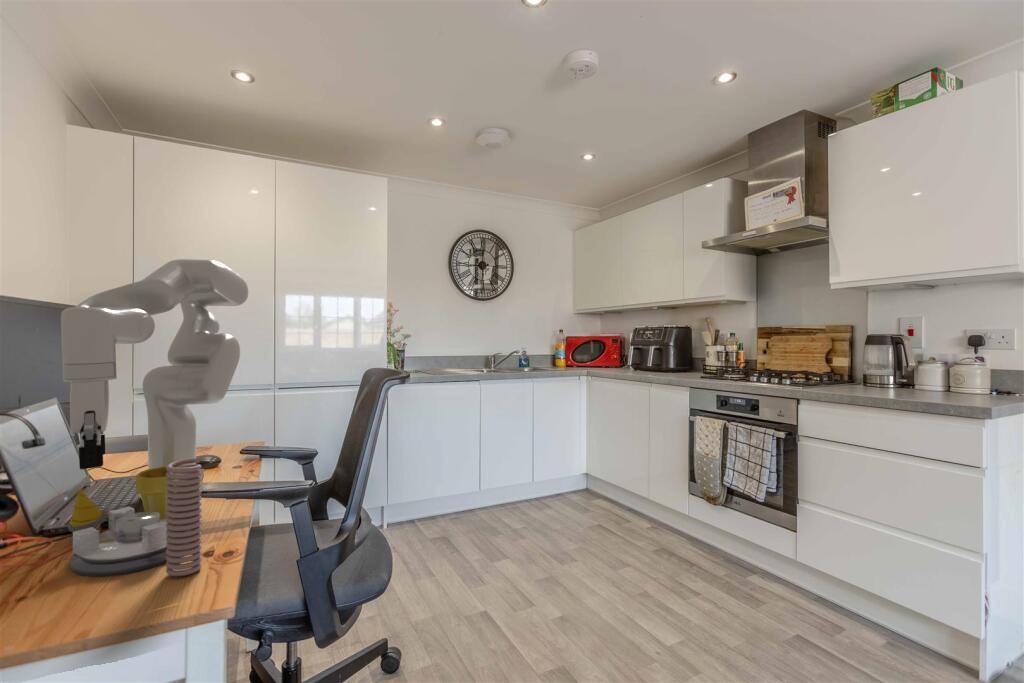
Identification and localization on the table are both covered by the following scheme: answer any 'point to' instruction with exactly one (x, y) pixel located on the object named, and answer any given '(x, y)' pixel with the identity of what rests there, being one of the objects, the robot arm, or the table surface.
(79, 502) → the stepped yellow cone
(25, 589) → the table surface
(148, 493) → the plant pot
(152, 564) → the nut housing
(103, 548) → the steel lathe chuck
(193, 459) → the coil
